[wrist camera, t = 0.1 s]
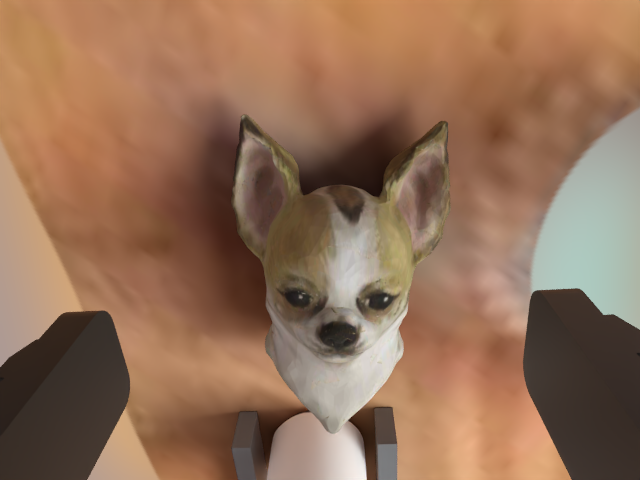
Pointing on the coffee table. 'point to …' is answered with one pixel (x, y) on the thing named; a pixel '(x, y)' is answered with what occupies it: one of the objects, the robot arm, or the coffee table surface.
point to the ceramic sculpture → (338, 264)
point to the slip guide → (253, 460)
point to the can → (316, 451)
